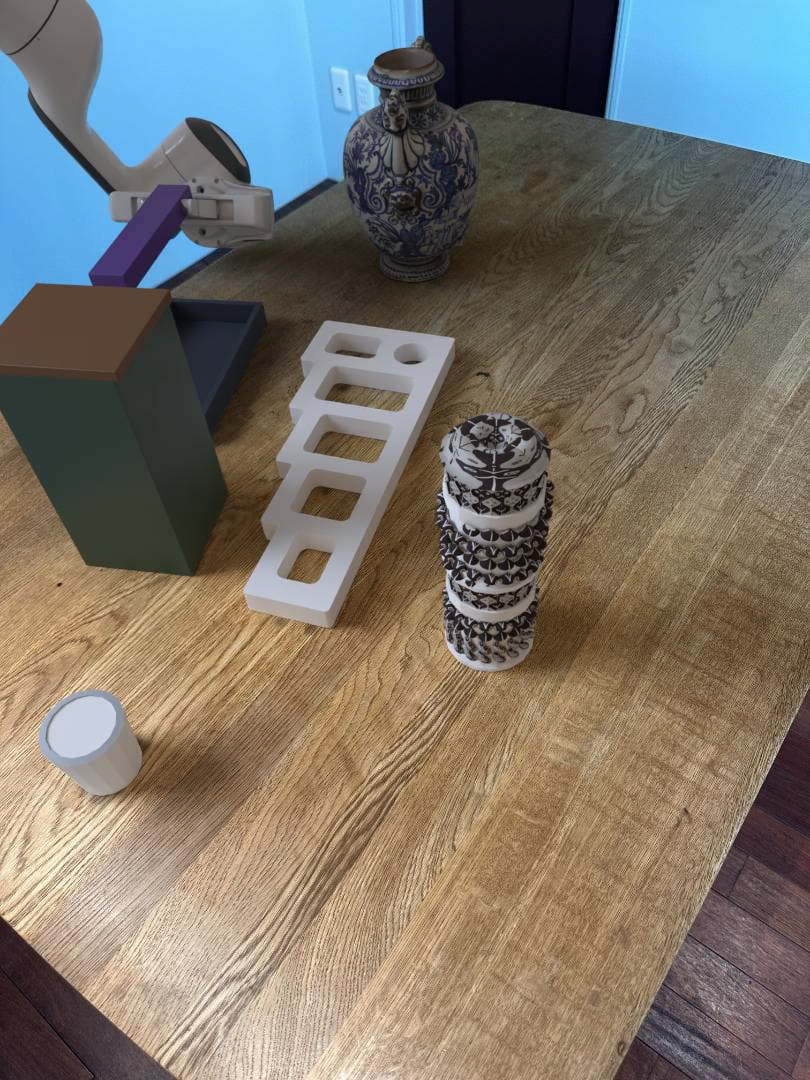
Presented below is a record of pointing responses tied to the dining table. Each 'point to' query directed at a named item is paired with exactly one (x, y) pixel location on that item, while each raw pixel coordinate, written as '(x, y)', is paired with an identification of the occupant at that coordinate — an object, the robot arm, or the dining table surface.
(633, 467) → the dining table surface
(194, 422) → the brown-capped green pillar
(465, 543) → the decorative candle
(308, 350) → the holder
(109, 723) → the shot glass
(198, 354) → the tray
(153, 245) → the purple bar
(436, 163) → the decorative vase
